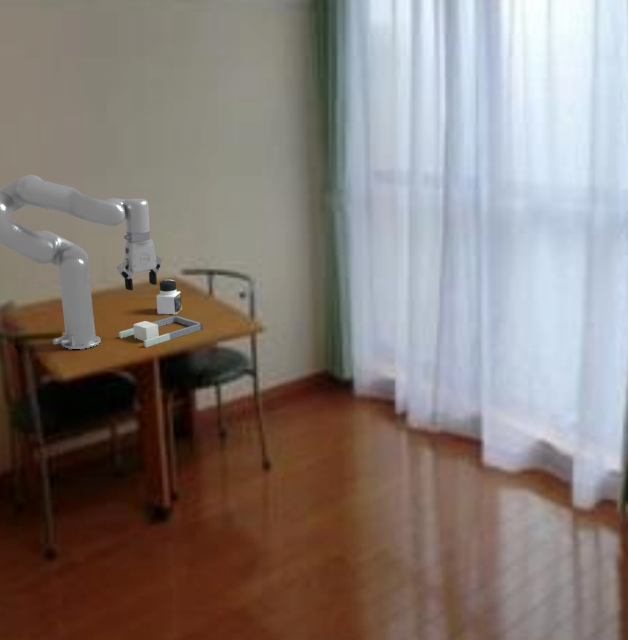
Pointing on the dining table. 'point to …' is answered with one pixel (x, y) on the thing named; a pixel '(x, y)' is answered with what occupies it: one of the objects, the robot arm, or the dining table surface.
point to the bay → (193, 328)
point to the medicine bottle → (168, 298)
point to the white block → (145, 330)
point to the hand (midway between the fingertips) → (141, 286)
